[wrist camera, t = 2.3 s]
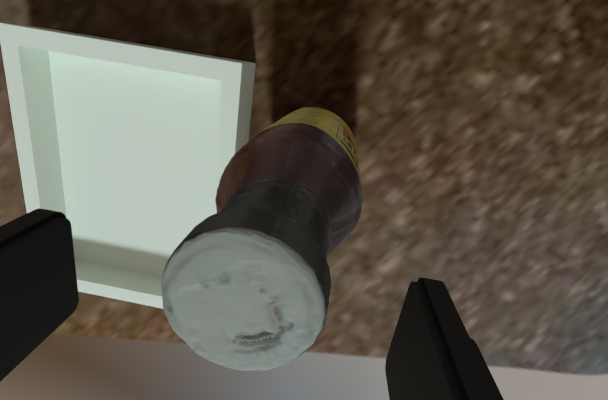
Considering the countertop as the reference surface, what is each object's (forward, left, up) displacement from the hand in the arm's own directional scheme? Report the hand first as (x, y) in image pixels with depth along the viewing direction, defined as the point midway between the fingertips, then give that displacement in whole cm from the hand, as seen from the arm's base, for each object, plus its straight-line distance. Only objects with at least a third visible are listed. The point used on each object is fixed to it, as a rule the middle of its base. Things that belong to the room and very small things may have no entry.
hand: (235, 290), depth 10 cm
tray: (+12, +5, -19) cm, 23 cm away
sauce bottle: (-1, 0, -19) cm, 19 cm away
